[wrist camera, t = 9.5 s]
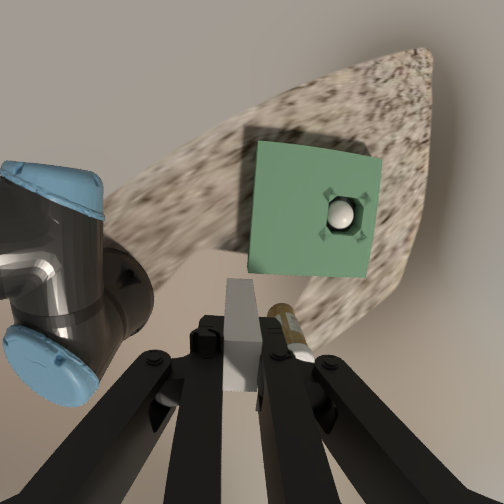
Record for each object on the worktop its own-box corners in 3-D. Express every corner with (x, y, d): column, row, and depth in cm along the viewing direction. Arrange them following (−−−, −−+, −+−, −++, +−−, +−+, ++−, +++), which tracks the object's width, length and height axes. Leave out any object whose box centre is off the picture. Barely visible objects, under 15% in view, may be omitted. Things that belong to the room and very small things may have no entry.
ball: (348, 227, 41) (322, 224, 41) (351, 201, 40) (325, 198, 40) (354, 232, 37) (326, 229, 37) (358, 203, 36) (329, 199, 36)
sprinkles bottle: (262, 308, 44) (273, 359, 31) (289, 297, 44) (309, 345, 31) (272, 330, 45) (285, 384, 32) (298, 320, 45) (319, 371, 32)
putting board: (247, 266, 42) (248, 273, 39) (256, 142, 37) (258, 140, 34) (358, 271, 43) (365, 277, 40) (372, 159, 39) (382, 159, 36)
